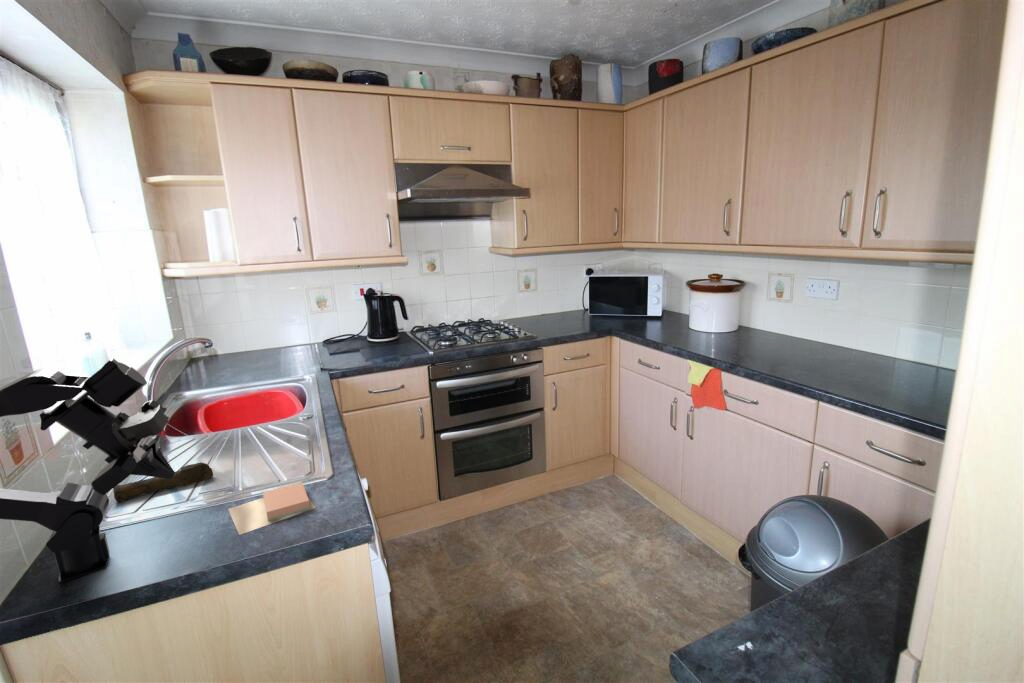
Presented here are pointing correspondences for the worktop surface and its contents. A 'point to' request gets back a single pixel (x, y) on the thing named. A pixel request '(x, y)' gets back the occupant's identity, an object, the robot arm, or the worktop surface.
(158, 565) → the worktop surface
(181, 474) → the brown wooden rod
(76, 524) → the robot arm
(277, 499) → the terracotta tile
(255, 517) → the beech board
